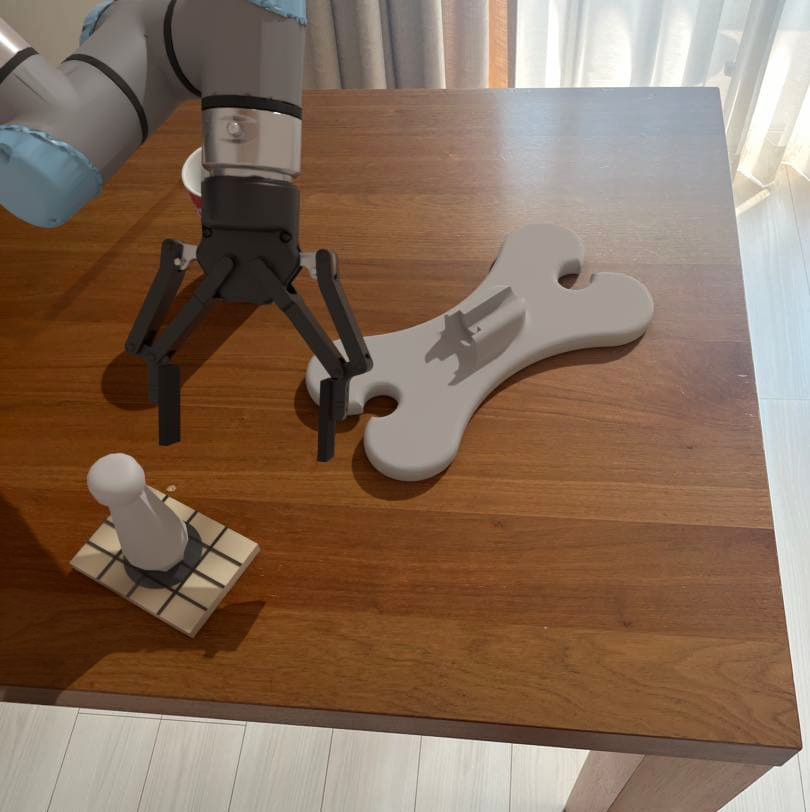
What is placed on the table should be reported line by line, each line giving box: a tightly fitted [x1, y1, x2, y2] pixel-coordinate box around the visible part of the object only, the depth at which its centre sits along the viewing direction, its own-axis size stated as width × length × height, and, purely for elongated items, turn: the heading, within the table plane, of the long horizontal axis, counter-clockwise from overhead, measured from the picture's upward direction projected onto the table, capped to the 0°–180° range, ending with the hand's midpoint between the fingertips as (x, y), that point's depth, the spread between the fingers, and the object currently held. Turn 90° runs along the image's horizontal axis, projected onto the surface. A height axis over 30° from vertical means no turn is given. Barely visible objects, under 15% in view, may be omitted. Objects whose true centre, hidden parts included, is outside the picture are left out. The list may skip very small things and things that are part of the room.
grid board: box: [68, 483, 261, 639], centre depth 80 cm, size 14×10×1 cm
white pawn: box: [86, 452, 188, 572], centre depth 74 cm, size 6×6×13 cm
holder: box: [304, 221, 655, 482], centre depth 87 cm, size 19×34×5 cm, turn 127°
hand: (246, 451), depth 74 cm, fingers open, 13 cm apart
